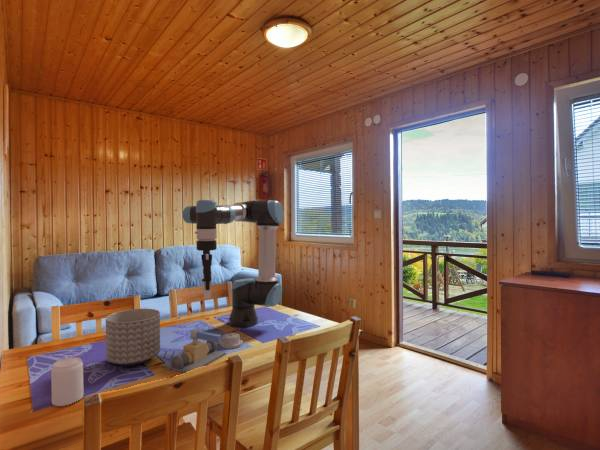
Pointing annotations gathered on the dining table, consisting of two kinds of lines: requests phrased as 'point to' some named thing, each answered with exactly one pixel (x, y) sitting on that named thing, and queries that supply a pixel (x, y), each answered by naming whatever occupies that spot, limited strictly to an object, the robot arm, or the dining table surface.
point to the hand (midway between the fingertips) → (207, 294)
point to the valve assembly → (195, 356)
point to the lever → (205, 336)
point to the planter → (132, 336)
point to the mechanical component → (231, 341)
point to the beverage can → (67, 381)
